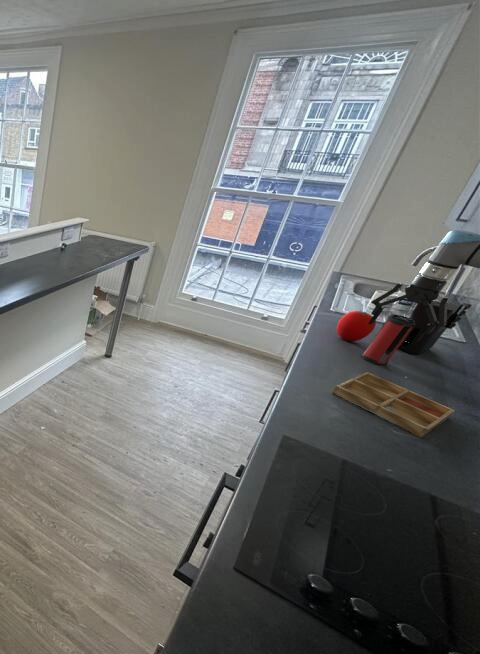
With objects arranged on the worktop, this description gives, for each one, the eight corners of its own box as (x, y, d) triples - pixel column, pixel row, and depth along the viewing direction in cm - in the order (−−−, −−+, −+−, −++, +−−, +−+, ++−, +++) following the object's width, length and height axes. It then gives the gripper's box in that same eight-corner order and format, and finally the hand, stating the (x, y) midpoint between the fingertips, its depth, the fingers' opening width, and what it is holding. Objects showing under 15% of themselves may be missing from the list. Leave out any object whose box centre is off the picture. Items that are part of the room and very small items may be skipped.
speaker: (369, 363, 151) (399, 321, 141) (355, 353, 157) (384, 312, 148) (391, 367, 150) (423, 324, 140) (377, 356, 156) (407, 315, 147)
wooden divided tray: (448, 418, 123) (455, 410, 122) (420, 437, 113) (428, 429, 112) (361, 379, 140) (367, 371, 138) (331, 393, 130) (336, 385, 128)
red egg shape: (334, 330, 175) (350, 304, 168) (365, 341, 168) (384, 313, 161) (327, 337, 168) (345, 309, 162) (360, 348, 161) (379, 320, 155)
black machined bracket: (385, 345, 166) (420, 296, 155) (404, 337, 175) (439, 290, 164) (422, 359, 157) (463, 309, 146) (440, 350, 167) (479, 301, 155)
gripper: (383, 265, 144) (348, 318, 155) (481, 292, 125) (433, 350, 136) (392, 264, 147) (357, 315, 158) (488, 290, 129) (441, 346, 140)
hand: (392, 331), depth 147 cm, fingers open, 13 cm apart
